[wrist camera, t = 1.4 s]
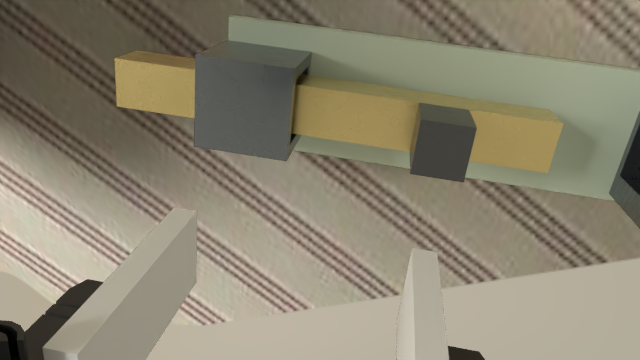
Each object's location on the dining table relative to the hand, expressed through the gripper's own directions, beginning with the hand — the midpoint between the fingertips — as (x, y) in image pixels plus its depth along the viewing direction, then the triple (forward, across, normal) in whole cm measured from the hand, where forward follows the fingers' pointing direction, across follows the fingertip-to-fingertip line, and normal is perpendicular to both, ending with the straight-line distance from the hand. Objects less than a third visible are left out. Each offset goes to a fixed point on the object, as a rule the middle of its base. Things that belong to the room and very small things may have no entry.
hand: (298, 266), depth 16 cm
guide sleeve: (+22, -6, 0) cm, 23 cm away
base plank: (+23, +7, 0) cm, 24 cm away
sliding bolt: (+20, -2, 0) cm, 20 cm away
